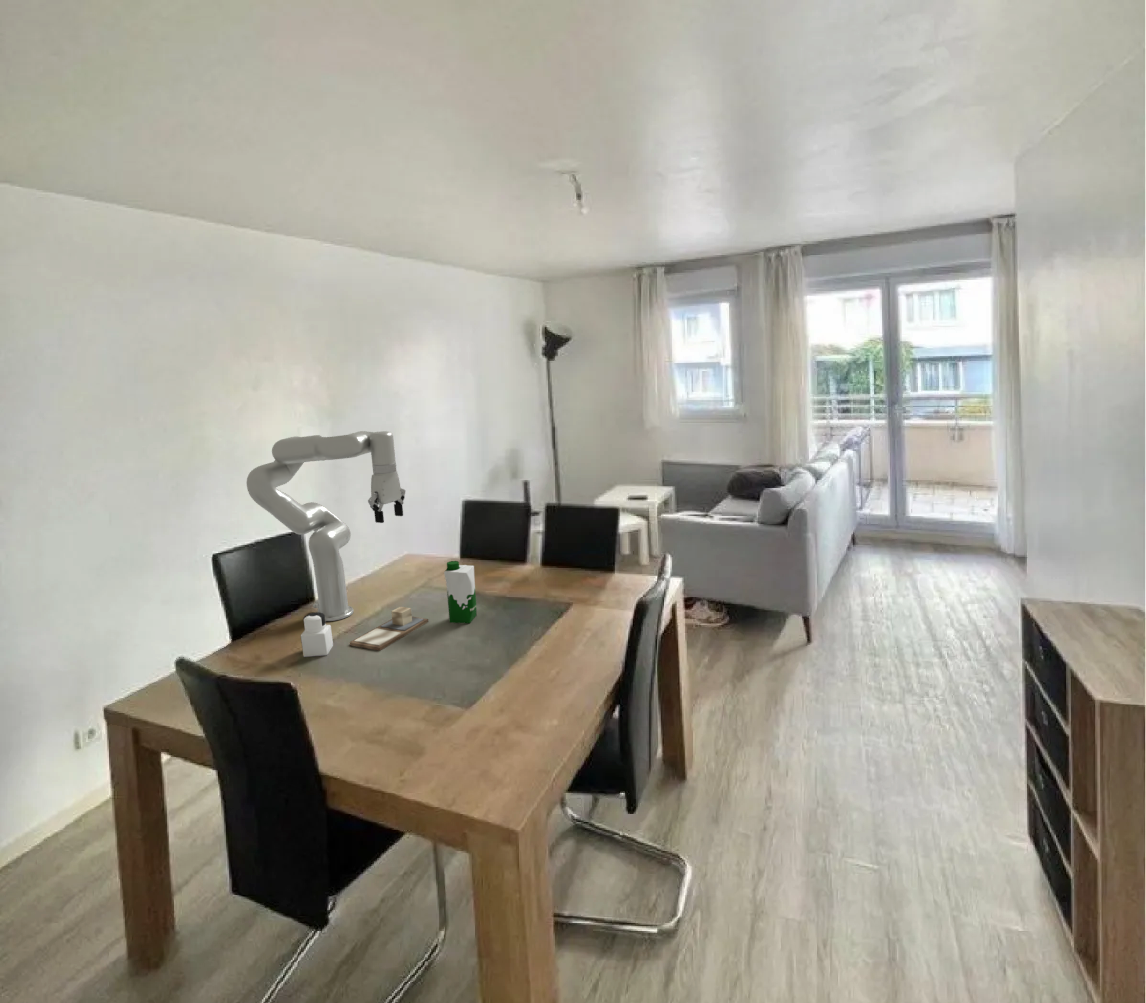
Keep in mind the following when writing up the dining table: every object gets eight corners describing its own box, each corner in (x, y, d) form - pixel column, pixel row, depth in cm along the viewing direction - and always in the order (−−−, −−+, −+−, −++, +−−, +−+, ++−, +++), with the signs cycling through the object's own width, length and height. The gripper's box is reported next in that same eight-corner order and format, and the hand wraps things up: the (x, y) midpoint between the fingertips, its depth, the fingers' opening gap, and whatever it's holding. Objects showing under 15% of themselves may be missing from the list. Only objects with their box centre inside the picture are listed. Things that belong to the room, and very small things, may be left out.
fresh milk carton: (455, 613, 228) (450, 558, 224) (480, 614, 226) (476, 559, 222) (446, 623, 220) (441, 566, 216) (471, 624, 218) (467, 567, 214)
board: (349, 645, 206) (349, 641, 206) (400, 617, 227) (399, 613, 227) (380, 650, 201) (379, 646, 201) (428, 621, 222) (428, 618, 222)
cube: (392, 624, 218) (391, 611, 217) (401, 619, 222) (400, 606, 221) (403, 626, 216) (401, 613, 215) (412, 621, 220) (410, 608, 219)
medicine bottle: (310, 647, 205) (305, 611, 203) (333, 645, 206) (329, 609, 203) (303, 657, 198) (297, 620, 196) (327, 655, 199) (322, 618, 197)
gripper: (393, 464, 228) (397, 512, 232) (357, 473, 213) (362, 524, 216) (410, 465, 225) (414, 514, 228) (375, 473, 210) (380, 526, 213)
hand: (389, 519), depth 222 cm, fingers open, 9 cm apart
